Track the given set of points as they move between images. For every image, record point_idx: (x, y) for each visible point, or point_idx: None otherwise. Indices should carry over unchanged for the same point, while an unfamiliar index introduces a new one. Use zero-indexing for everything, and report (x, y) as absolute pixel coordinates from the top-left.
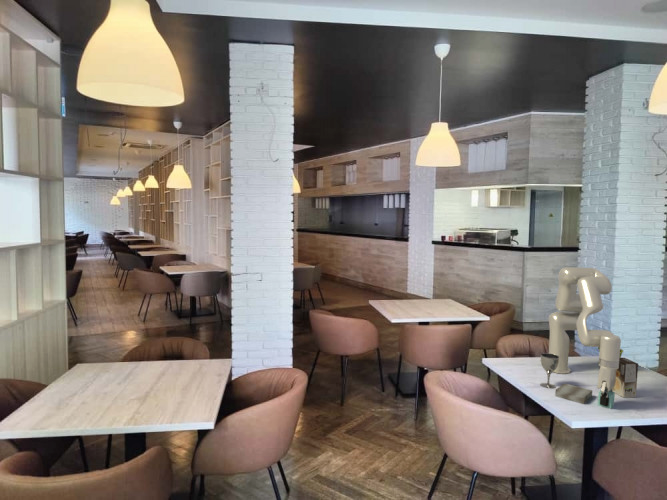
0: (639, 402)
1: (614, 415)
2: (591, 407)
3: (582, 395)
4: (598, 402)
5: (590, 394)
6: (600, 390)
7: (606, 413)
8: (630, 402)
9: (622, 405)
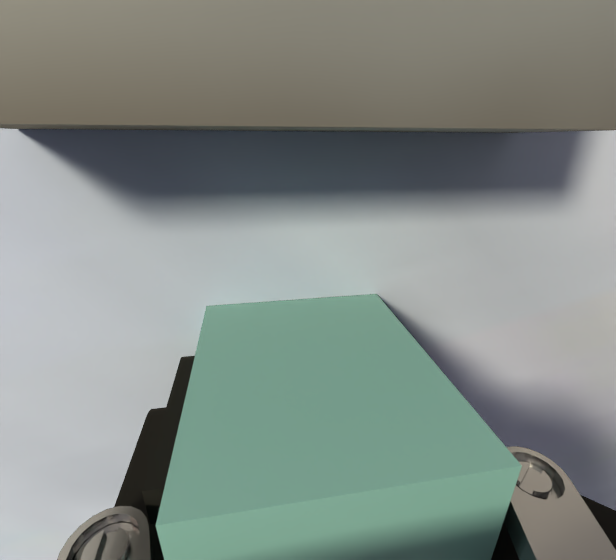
0: (603, 498)
1: (41, 525)
2: (7, 274)
3: (21, 9)
4: (203, 336)
5: (460, 129)
6: (357, 496)
7: (2, 466)
8: (565, 467)
9: None
